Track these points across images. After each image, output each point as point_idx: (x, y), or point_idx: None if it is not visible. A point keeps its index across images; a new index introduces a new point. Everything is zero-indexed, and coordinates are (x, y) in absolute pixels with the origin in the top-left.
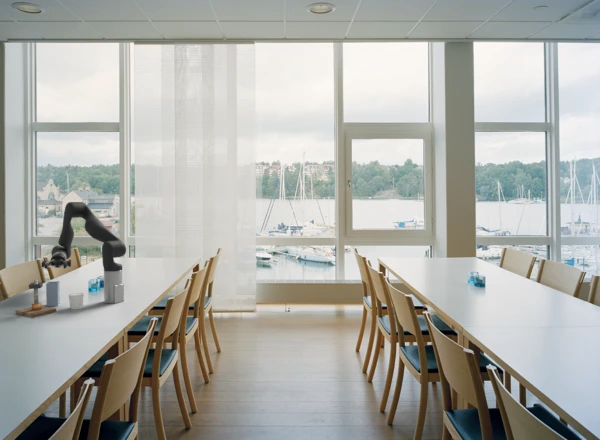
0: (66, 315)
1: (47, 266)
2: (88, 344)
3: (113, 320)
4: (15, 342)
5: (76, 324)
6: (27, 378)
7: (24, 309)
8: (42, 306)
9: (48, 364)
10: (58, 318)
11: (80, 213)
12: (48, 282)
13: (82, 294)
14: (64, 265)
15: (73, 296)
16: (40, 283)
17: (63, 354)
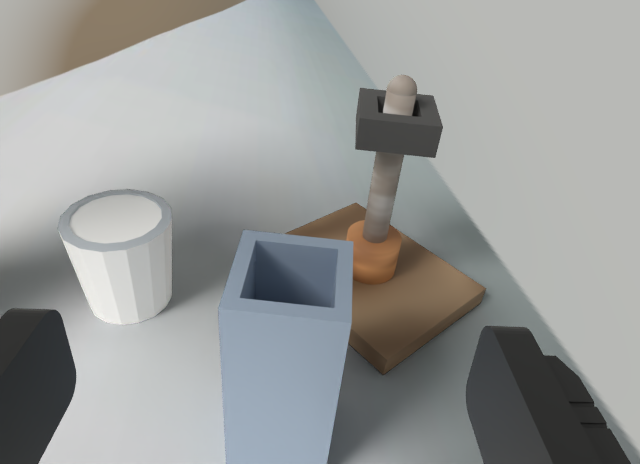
0: (212, 198)
1: (502, 447)
2: (192, 40)
3: (60, 109)
4: (352, 81)
5: (192, 117)
6: (296, 11)
7: (443, 292)
8: None
9: (270, 21)
10: (249, 178)
11: None
12: (341, 286)
13: (76, 205)
14: (37, 313)
15: (147, 193)
16: (365, 98)
17: (245, 31)
